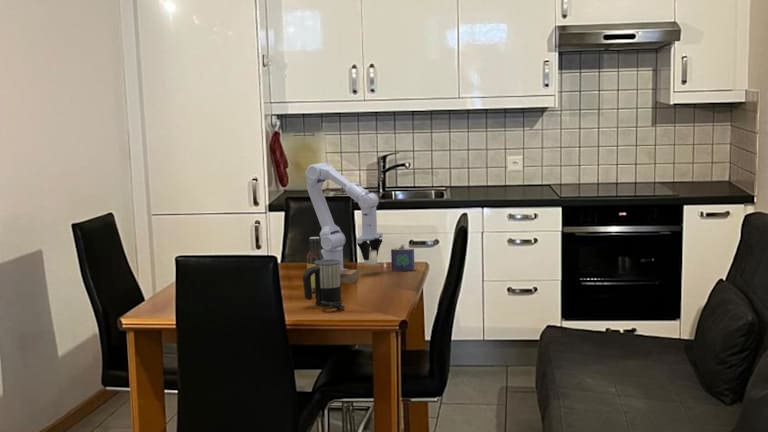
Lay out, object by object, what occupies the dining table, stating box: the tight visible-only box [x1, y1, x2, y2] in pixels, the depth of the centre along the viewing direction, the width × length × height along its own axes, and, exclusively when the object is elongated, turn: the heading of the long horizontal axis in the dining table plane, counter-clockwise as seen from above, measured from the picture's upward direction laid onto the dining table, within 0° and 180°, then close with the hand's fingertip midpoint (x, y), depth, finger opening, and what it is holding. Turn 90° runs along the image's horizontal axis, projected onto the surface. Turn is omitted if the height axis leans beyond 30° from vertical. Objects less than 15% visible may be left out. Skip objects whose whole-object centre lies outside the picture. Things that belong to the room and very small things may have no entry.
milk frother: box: [302, 259, 345, 311], centre depth 311 cm, size 14×16×15 cm
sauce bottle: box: [306, 236, 324, 293], centre depth 334 cm, size 6×6×20 cm
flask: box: [390, 244, 416, 273], centre depth 365 cm, size 9×3×11 cm, turn 87°
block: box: [340, 268, 359, 285], centre depth 350 cm, size 8×8×4 cm
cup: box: [363, 248, 378, 266], centre depth 359 cm, size 5×5×5 cm
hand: (370, 258), depth 360 cm, fingers closed on cup, 5 cm apart
